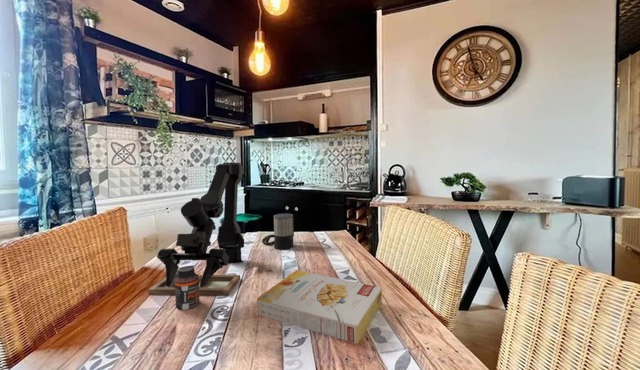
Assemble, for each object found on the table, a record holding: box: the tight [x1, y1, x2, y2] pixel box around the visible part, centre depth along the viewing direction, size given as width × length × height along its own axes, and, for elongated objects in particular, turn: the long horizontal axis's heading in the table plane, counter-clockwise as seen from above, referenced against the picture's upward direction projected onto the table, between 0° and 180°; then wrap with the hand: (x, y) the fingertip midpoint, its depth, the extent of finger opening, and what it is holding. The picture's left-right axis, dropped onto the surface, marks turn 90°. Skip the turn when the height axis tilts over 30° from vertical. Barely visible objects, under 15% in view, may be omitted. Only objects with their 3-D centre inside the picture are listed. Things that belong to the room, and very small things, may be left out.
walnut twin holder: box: [147, 274, 241, 296], centre depth 91 cm, size 11×24×2 cm, turn 87°
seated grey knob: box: [170, 267, 180, 287], centre depth 91 cm, size 5×5×5 cm
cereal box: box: [256, 269, 383, 345], centre depth 78 cm, size 20×6×28 cm
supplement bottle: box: [174, 265, 201, 311], centre depth 79 cm, size 6×6×11 cm
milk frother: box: [261, 213, 295, 251], centre depth 135 cm, size 14×16×15 cm
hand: (184, 286), depth 78 cm, fingers open, 9 cm apart
